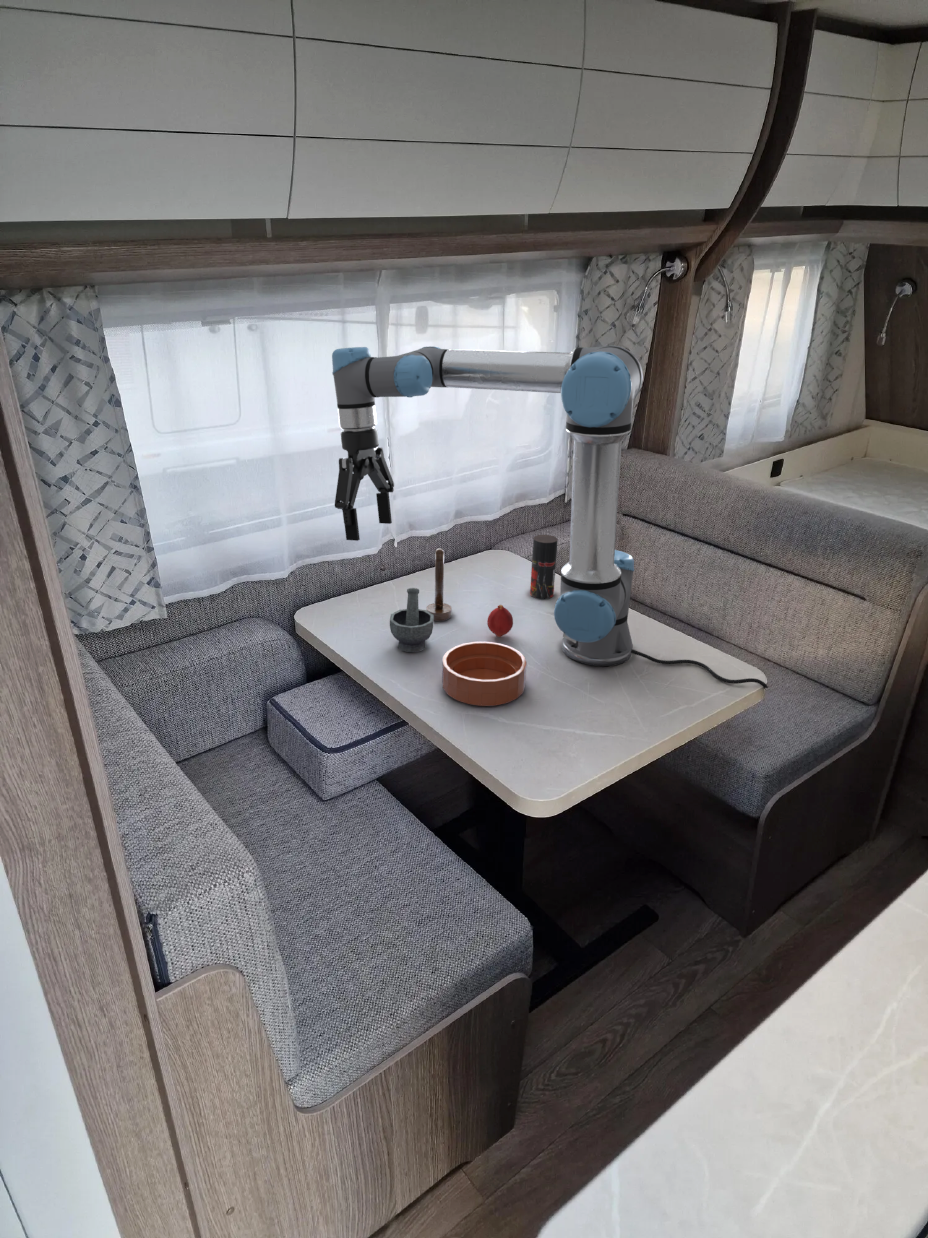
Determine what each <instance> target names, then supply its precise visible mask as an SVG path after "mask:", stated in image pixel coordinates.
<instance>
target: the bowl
mask: <svg viewBox="0 0 928 1238" xmlns="http://www.w3.org/2000/svg"><path fill="white" fill-rule="evenodd" d="M441 659H442V661H441V663H442V664H441V683H442V684H441V686H442V689H443V690H444V692H445V693H446V695H447V696H449V697H450V698H452V699H454V700H455V701H458V702H461V703H463V704H467V705H473V706H479V707H489V706H490V707H491V706H494V707H495V706H499V705H505V704H509V703H511V702H512V701H515V700H517V699H518V698H520V696H522V694H524V692H525V688H526V684H527V683H526V680H527V666H528V663H527V659H526V656H525V655H524V654H523V653H522V652H521V651H520V650H518V649H516V648H514V647H512V646H510V645H507V644H503V643H500V642H493V641H470V642H464V643H460V644H458V645H455V646H452V647H451V648H450V649H448V650H447V651H446V652H445V653H444V655H443V656H442V658H441Z"/></svg>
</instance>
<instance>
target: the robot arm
mask: <svg viewBox="0 0 928 1238" xmlns="http://www.w3.org/2000/svg"><path fill="white" fill-rule="evenodd" d="M331 361H332V362H331V363H332V372H331V373H332V376H333V383H334V390H335V397H336V406H337V407H336V408H337V416H338V425H339V428H340V429H341V431H340V435H339V436H340V443H341V444H340V445H341V448H342V450H344V451H346V452H347V457H340V458H338V476H337V483H336V489H335V490H336V491H335V498H334V508H335V509H338V510H341V511H342V519H343V524H344V532H345V540H346V541H356V542H359V541H361V539H360V530H359V520H358V513H357V512H358V511H357V508H356V507H354V506H355V504H356V499H357V496H358V492H359V488H360V484H361V481H362V480H363V479H364V477H365V476H368V477H369V479H370V481H371V482H372V484H373V485H374V487H375V489H376V490H377V493H376V494H375V495H376V507H377V512H378V513H377V514H378V515H377V516H378V524H387V525H390V524H392V523H393V519H392V509H391V502H390V501H391V500H390V493H394V491H395V489H394V488H395V482H394V479H393V477H392V474H391V472H390V469H389V466H388V463H387V461H386V458H385V453H384V448H383V447H382V446H380V440H379V439H380V438H379V431H378V429H377V427H376V426H377V425H378V419H377V411H376V410H377V409H376V403H375V402H376V401H375V400H376V399H375V398H414V397H421V396H426V395H427V394H429V392H430V389H431V388H451V389H453V388H454V389H474V390H492V391H509V392H510V391H511V392H531V393H548V394H549V393H550V394H560V399H561V404H562V407H563V409H564V411H565V412H566V413H565V414H566V415H565V431H566V432H567V434H569V435H570V437H572V439H573V453H572V455H573V456H572V457H573V458H572V480H571V505H570V529H569V530H570V531H569V533H570V534H569V558H568V562H566V563H565V564H564V565H562V567H561V570H560V591H559V596H558V598H557V600H556V602H555V605H554V610H553V616H554V617H553V618H554V621H555V624H556V626H557V628H558V629H559V630H560V631H561V632H562V645H561V649H562V651H563V653H564V654H565V655H566V656H567V657H568V658H570V659H571V660H573V661H575V662H577V663H581V664H584V665H588V666H594V667H612V666H617V665H622V664H623V663H626V662H627V661H629V660H630V659H631V657H632V656H633V655H636V656H639V657H642V658H644V659H647V660H649V661H651V662H653V663H656V664H662V665H679V664H689V665H696V666H698V667H701V668H703V669H704V670H705V671H706V672H708V673H709V674H710V675H711V676H712V677H714V678H715V679H717V680H718V681H720V682H723V683H725V684H733V685H734V684H735V685H738V684H747V683H756V684H759V685H760V686H762V687H763V688H765V689H768V688H769V686H768V685H767V684H766V683H765V682H764V681H763V680H760V679H759V678H755V677H753V678H752V677H751V678H750V677H749V678H740V679H729V678H726V677H723V676H720V675H719V674H718V673H716V672H715V671H714V670H713V669H711V667H709V666H708V665H706V664H705V663H703V662H701V661H697V660H693V659H674V660H673V659H672V660H665V659H664V660H663V659H659V658H655V657H653V656H651V655H648V654H646V653H644V652H641V651H639V650H636V649H633V648H634V645H633V640H632V635H631V632H630V627H629V623H628V619H629V618H628V617H629V610H630V609H629V608H630V603H631V594H632V584H633V577H634V572H635V560H634V558H633V556H632V555H631V554H629V553H628V552H624V551H622V550H618V549H616V540H617V539H616V538H617V526H618V525H617V524H618V522H617V521H618V507H619V506H618V505H619V494H620V493H619V491H620V490H619V489H620V477H621V473H620V472H621V461H622V460H621V459H622V443H623V440H624V438H626V436H628V435H629V434H630V433H631V432H632V423H633V409H634V400H635V399H636V398H637V396H638V395H639V393H640V390H641V388H642V386H643V379H644V378H643V377H644V375H643V368H642V365H641V363H640V360H639V359H638V358H637V356H636V355H635V354H634V353H633V352H632V351H631V350H629V349H627V348H625V347H622V346H621V345H614V344H612V345H603V346H602V345H601V346H591V347H588V346H587V347H582V346H581V347H579V346H575V347H574V348H572V350H571V351H570V352H555V351H554V352H553V351H528V350H527V351H525V350H495V349H493V350H492V349H491V350H489V349H462V348H461V349H459V348H458V349H456V348H449V349H447V348H441V347H439V346H435V345H434V346H423V347H420V348H418V349H416V350H412V351H409V352H406V353H402V354H398V355H393V356H392V355H391V356H390V355H389V356H378V357H377V356H371V352H370V348H369V347H367V346H355V347H352V346H351V347H343V348H342V347H341V348H336V349H334V350H333V351H332V354H331Z"/></svg>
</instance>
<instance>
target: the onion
mask: <svg viewBox="0 0 928 1238" xmlns="http://www.w3.org/2000/svg"><path fill="white" fill-rule="evenodd" d="M486 624H487V627H488V629H489V630H490V632H492V633H493V634H494V635H495V636H496V637H498V638H502V637H503V636H505V635H507V634H508V633H509V632H510V631H511V630H512V628H513V626H514V618H513V615H512V613H511V612H510V611H509V610H508V608H506V607H504V605H502V604H498V605H497V607H496V608H494V609H492V610H491V611H490V613H489V614H488V616H487V623H486Z"/></svg>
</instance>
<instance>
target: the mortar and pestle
mask: <svg viewBox="0 0 928 1238" xmlns="http://www.w3.org/2000/svg"><path fill="white" fill-rule="evenodd" d="M406 593H407V602H406V608H402V609H399V610H396V611H395V612H393V613H390V616H389V629H390V633H391V634H392V636H393V637H394V639H396V640H397V641H398V644H397V648H398V649H399V650H401V651H402V652H406V653H417V652H422V651H423V650H425V649H426V645H427V642H426V641H427V640H429V638H431V635H432V634H433V629H434V622H435V621H434V615H433V614H431V613H429V612H428V611H426V609H421V608H420V607H419V594H420V589H419V588H417V587H409V588H407V589H406Z"/></svg>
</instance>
